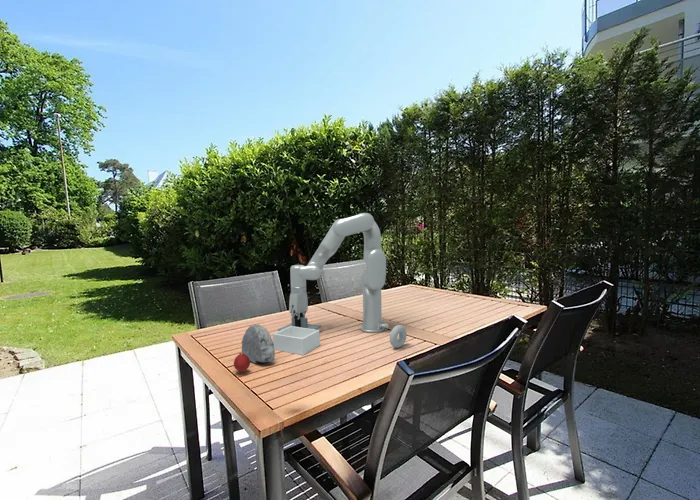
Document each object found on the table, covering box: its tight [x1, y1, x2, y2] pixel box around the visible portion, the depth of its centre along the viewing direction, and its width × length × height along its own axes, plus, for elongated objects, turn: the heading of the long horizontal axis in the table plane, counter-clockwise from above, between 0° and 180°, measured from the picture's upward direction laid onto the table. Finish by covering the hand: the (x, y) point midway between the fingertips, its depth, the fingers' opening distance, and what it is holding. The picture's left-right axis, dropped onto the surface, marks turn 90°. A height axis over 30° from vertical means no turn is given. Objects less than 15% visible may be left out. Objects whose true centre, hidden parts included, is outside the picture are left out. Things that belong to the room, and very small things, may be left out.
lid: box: [277, 316, 322, 332], centre depth 174 cm, size 17×14×7 cm
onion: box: [233, 351, 251, 374], centre depth 130 cm, size 6×6×8 cm
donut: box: [389, 324, 408, 349], centre depth 152 cm, size 10×4×10 cm, turn 133°
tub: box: [272, 326, 321, 356], centre depth 155 cm, size 16×13×7 cm
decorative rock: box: [241, 324, 276, 364], centre depth 140 cm, size 16×7×15 cm, turn 49°
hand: (299, 325), depth 174 cm, fingers closed on lid
